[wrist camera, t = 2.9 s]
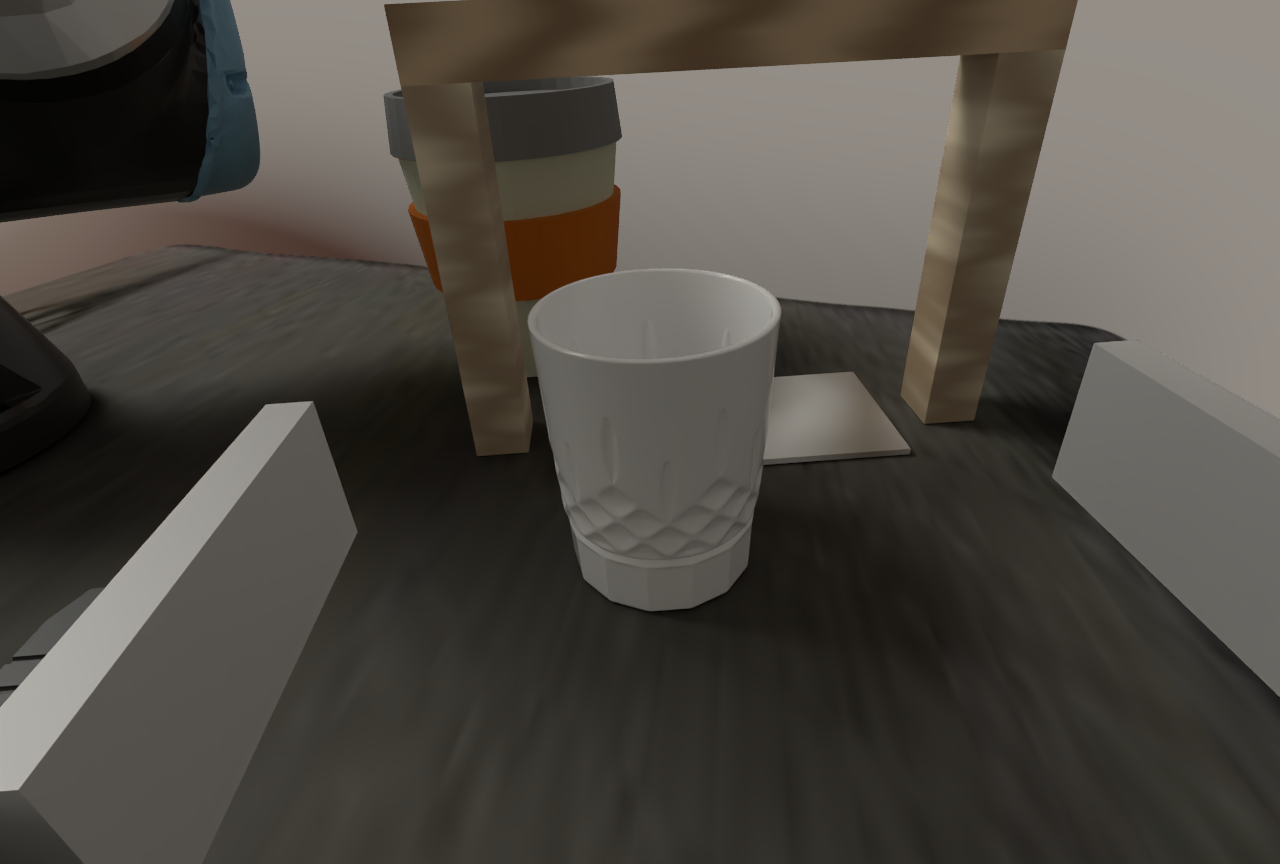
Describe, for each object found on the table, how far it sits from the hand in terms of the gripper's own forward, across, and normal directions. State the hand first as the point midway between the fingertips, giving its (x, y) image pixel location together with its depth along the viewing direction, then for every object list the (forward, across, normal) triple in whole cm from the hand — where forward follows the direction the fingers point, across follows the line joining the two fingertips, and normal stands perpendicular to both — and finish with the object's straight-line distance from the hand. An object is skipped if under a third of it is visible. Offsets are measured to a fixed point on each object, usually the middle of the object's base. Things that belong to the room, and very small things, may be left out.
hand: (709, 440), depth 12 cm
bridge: (+20, +4, -11) cm, 23 cm away
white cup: (+10, 0, -12) cm, 15 cm away
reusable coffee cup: (+31, -7, -11) cm, 33 cm away
